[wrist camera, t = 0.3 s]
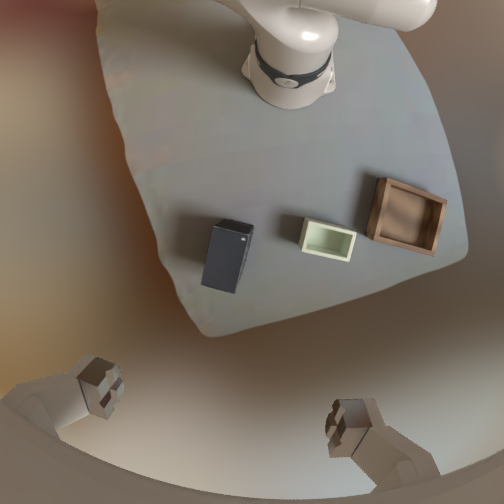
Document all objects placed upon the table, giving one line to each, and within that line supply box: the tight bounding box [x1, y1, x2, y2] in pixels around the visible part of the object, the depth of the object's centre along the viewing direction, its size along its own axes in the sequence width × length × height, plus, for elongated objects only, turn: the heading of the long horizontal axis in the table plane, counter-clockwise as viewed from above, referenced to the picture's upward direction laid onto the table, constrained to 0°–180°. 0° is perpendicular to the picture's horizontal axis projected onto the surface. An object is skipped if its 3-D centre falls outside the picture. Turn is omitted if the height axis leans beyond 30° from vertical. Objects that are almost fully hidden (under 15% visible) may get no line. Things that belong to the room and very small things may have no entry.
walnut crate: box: [365, 178, 447, 257], centre depth 49 cm, size 12×15×5 cm
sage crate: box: [298, 217, 357, 262], centre depth 50 cm, size 6×9×6 cm, turn 79°
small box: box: [201, 219, 254, 294], centre depth 50 cm, size 11×6×10 cm, turn 166°
